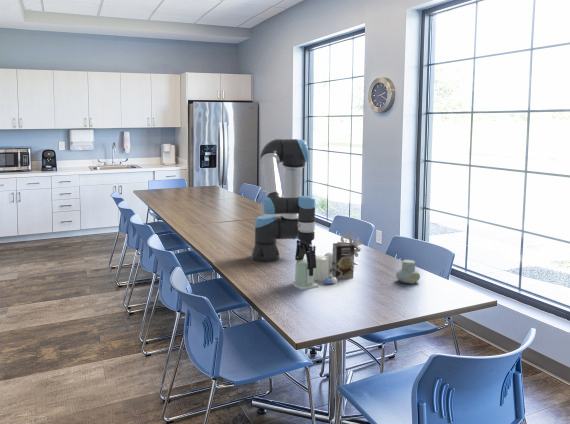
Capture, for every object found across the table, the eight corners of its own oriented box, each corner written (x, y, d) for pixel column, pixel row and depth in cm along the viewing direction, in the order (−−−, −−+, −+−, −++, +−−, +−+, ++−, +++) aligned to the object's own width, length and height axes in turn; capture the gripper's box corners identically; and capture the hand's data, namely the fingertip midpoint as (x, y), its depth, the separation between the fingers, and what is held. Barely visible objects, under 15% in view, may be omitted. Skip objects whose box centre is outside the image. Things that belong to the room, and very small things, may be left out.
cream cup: (308, 276, 250) (309, 256, 248) (323, 274, 254) (324, 254, 252) (317, 281, 243) (317, 260, 241) (332, 279, 246) (332, 259, 244)
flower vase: (336, 285, 260) (364, 263, 276) (337, 254, 251) (366, 233, 267) (316, 275, 267) (344, 254, 284) (316, 244, 258) (345, 225, 275)
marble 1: (323, 283, 240) (323, 277, 239) (328, 282, 241) (328, 276, 240) (326, 285, 237) (326, 279, 237) (332, 284, 238) (332, 278, 238)
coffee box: (336, 279, 247) (337, 246, 244) (331, 275, 253) (332, 243, 250) (353, 277, 249) (355, 245, 246) (348, 274, 255) (349, 242, 252)
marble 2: (329, 282, 241) (329, 276, 241) (334, 282, 242) (334, 275, 242) (332, 284, 238) (332, 278, 238) (338, 283, 240) (338, 277, 239)
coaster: (291, 283, 239) (291, 281, 239) (309, 281, 243) (309, 279, 243) (300, 289, 231) (300, 287, 231) (318, 287, 235) (318, 285, 235)
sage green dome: (308, 279, 242) (309, 258, 240) (317, 284, 235) (317, 263, 233) (292, 281, 239) (293, 260, 237) (301, 286, 231) (301, 265, 229)
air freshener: (405, 286, 238) (406, 265, 236) (392, 281, 245) (393, 260, 243) (422, 282, 244) (423, 261, 242) (409, 277, 251) (411, 257, 249)
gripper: (288, 226, 240) (287, 273, 244) (310, 236, 221) (308, 287, 225) (302, 225, 243) (301, 272, 247) (325, 234, 224) (324, 285, 228)
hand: (305, 279), depth 236 cm, fingers open, 9 cm apart
